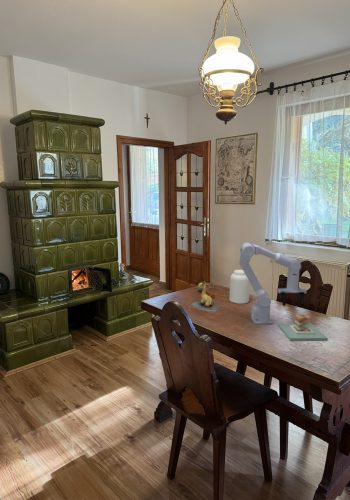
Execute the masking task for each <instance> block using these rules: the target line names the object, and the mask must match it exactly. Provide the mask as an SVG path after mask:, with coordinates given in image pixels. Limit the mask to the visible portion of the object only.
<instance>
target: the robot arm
mask: <svg viewBox="0 0 350 500" xmlns="http://www.w3.org/2000/svg"><path fill="white" fill-rule="evenodd" d="M258 255H262V256H265V257H267V258H270V259H272V260H274V263H276V264H278V265H281V266H283V267H285V268H288V269H287V278H286V279H287V280H286V287H284V288H278V289H277V293H278V294H279V295H280V299H281V302H282V306H283V307H286V302H287V294H296V296H297V297H296V306H297V307H298V308H299V307H300V305H301V303H302V301H303V300H304V298H305V296H306V294H307V289H306V288H299V283H300V282H299V279H300V270H301V269H302V264H301V262H300V260H298V259H296V258H295V257H293V256H288V255H286V253H285V252H278V253H276V252H274V251H272V250H269V249H267V248H264V247H263V246H261V245H257V244H255V243H251V242H244V243H243V244H242V245H241V247H240V250H239V257H238V258H239V259H238V260H239V261H238V262H239V263H238V264H239V265H240V268H241V270H243V271H244V273H245V275H246V276H247V278H248V280H249V282H250V287H252V289H253V291H254V293H255V295H256V299H257V302H256V304H254V305H251V316H250V319H251V321H252V322H253V323H254V324H256V325H257V324H260V325H261V324H265V325H266V324H273V322H272V321H271V319H270V315H271V314H270V313H271V303H272V299H271V298H270V296H269V294H268V292H266V291H265V290H264V289H263V287H262V284H261V283H260V281H259V280H258V277H257V276H256V275H257V274H255V272H254V270H253V269H252V266H251V265H250V261H251V258H252V257H253V256H258Z"/></svg>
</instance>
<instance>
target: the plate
mask: <svg viewBox="0 0 350 500" xmlns="http://www.w3.org/2000/svg"><path fill="white" fill-rule="evenodd" d="M277 327H278V329H280V331H281V332H283V334H284V335H285V337H286V338H287V339H288V340H289V341H291V342H295V341H296V342H297V341H298V342H301V341H302V342H303V341H305V342H306V341H328V340H329V338H328V337H327V336H326V335H324V333H322V332H321V331H320V329H318V328H317V327H316V326H315V325H313V324H312V323H309V331H308V332H297V331H296V330H295V323H277Z"/></svg>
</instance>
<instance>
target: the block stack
mask: <svg viewBox="0 0 350 500" xmlns="http://www.w3.org/2000/svg"><path fill="white" fill-rule="evenodd" d="M294 316H295V317H294V324H295V330H296V331H297V332H308V331H309V324H310V317H309V316H308V315H307V314H301V313H300V314H295V315H294Z"/></svg>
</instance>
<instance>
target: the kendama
mask: <svg viewBox="0 0 350 500" xmlns="http://www.w3.org/2000/svg"><path fill="white" fill-rule="evenodd" d="M205 286H206V294H207V295H208V296H210V297H211V298H212V300H213V299H215V298H216V294H215V293H213V292H210V291H208V288H207V284H206V285H205ZM197 290H198V291H199V292H200V293H202V291H203V289H200V290H199V289H198V288H197Z"/></svg>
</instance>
